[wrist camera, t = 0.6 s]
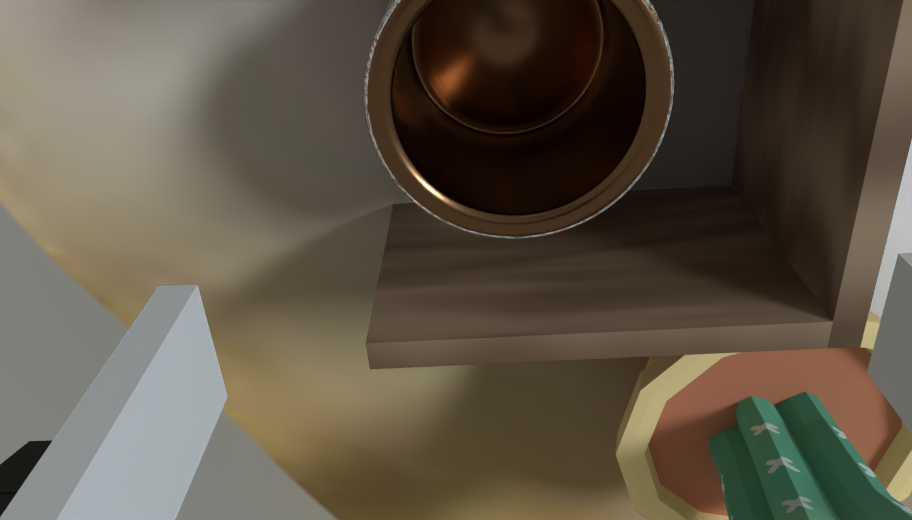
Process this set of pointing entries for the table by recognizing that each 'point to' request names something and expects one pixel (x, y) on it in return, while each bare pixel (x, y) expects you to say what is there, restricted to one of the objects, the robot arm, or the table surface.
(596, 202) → the planter
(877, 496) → the potted cactus
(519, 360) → the wooden cubby shelf
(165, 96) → the table surface
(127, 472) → the robot arm
